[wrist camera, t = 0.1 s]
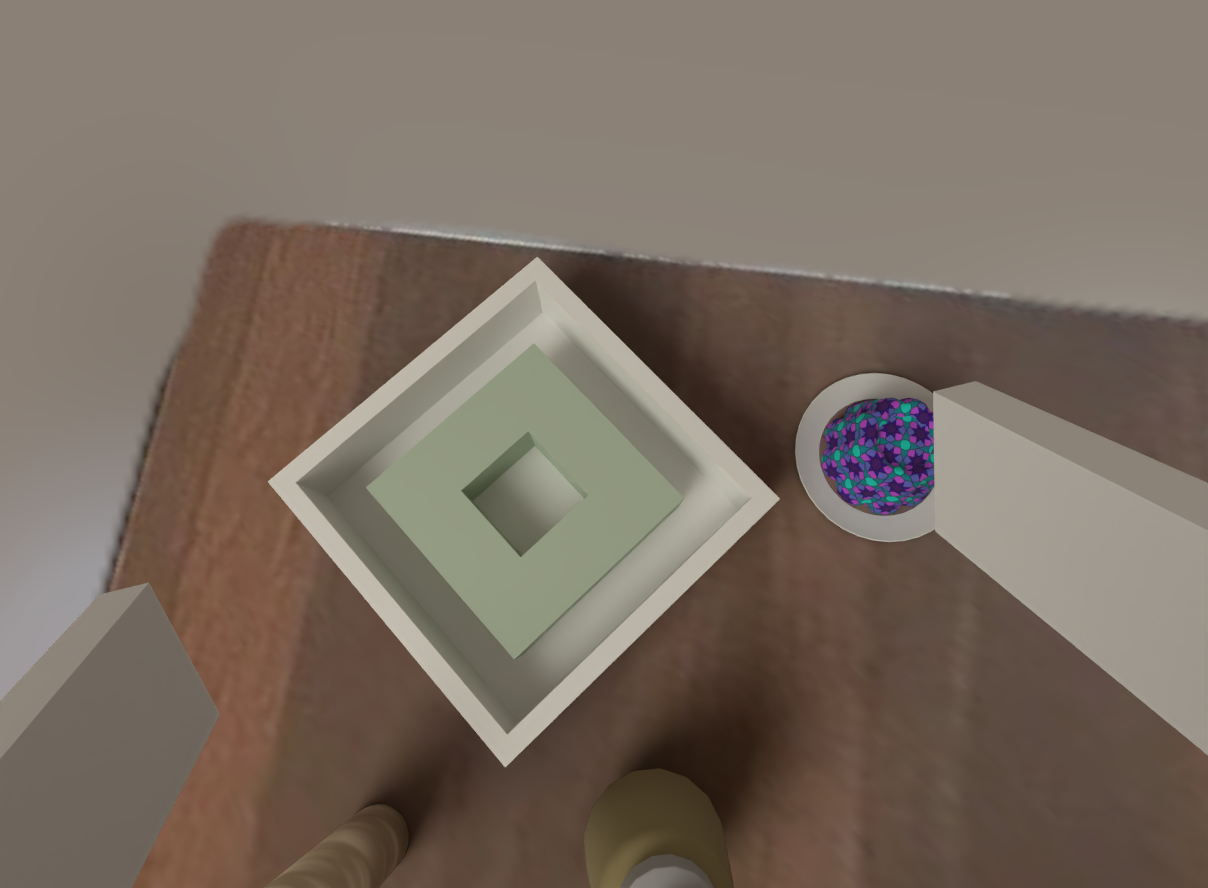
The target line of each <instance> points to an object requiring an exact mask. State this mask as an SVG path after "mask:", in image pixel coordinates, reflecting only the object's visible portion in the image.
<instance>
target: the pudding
mask: <svg viewBox="0 0 1208 888" xmlns="http://www.w3.org/2000/svg"><path fill="white" fill-rule="evenodd" d="M865 399H878V400H872V401H866V402H860V403H855V404H853V405H852V406H850V407H848V408H847V411H846V413H845V416H844V418H840V419H835V420H833V421H832V422H831V423H830V424H829V425H828V426H827V428H826V432H825V435H824V437H825V440H826V443H827V445H828V448H827V449H826V450H825V452H824V453H823V454H822V467H823V469H824V471H825V473H826V475H827V476H829V477H830V478H832V479H834V480H835V481H836V484H837V492H838V494H839V495H840V496H841V497H842V498H843V499H844V501H846V502H848V503H850V504H852V505H863V504H865V505H866V506H867V507H868V508H869V509H870V510H871V511H872V512H873V513H877V514H881V515H887V514H892V513H895V511H896V510H897V509H898V508H899V507H900V506H901V505H906V506H915V505H916V504H918V503H920V502H922V500H923V499H924V498H925V497H926V495H927V494H928V493H929V491H930V490H931V489H932V488H933V486H934V416H933V393H932V392H930V391H928V390H927V389H925V388H924V387H922V386H921V385H919V384H917V383H915V382H912V381H910V380H908V379H906V378H902V377H898V376H895V375H891V374H881V373H868V374H859V375H855V376H851V377H847V378H845V379H842V380H840V381H838V382H835V383H833V384H832V385H831V386H829V387H828V388H826V389H825V390H823V391H822V392H821V393H820V394H819V395H818V396H817V397H816V398H815V399H814V400H813V401H812V402H811V404H810V405H809V407H808V408H807V410H806V411H805V413H804V415H803V417H802V420H801V422H800V424H799V427H798V432H797V436H796V447H795V456H796V463H797V469H798V472H799V475H800V479H801V482H802V484H803V486H804V488H805V490H806V492H807V494H808V496H809V497H810V499H811V500H812V501H813V503H814V504H815V505H816V507H817V508H818V509H819V510H820V511H821V512H822V513H823V514H824V515H825V516H826V517H827V518H828V519H829V520H830V521H832V522H833V523H835V524H836V525H838V526H839V527H841V528H842V529H844V530H846V531H848V532H850V533H852V534H854V535H857V536H859V537H863V538H866V539H870V540H875V541H884V542H895V541H906V540H909V539H913V538H917V537H920V536H922V535H924V534H927V533H929V532H931V531H933V530H934V529H935V486H934V488H933V489H932V491H931V493H930V494H929V496H928V497H927V498H926V499H925V500H924V501H923V502H922V503H921V504H919V505H918V506H917V507H915V508H914V509H912V510H909V511H907V512H905V513H902V514H898V515H893V516H877V515H871V514H867V513H864V512H861V511H859V510H857V509H855V508H852V507H851V506H850V505H848V504H847V503H845V502H844V501H842V500H841V499H840V498H839V497H838V496H837V495H836V494H835V493H834V491H833V490H832V489H831V487H830V486H829V485H828V483H827V481H826V479H825V477H824V475H823V472H822V469H821V466H820V460H819V444H820V439H821V435H822V433H823V431H824V428H825V426H826V425H827V423H828V422H829V420H830V419H831V418H832V417H833V416H834V415H835V414H836V413H837V412H838V411H839V410H840V409H842V408H843V407H845V406H847V405H849V404H851V403H853V402H856V401H860V400H865Z"/></svg>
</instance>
